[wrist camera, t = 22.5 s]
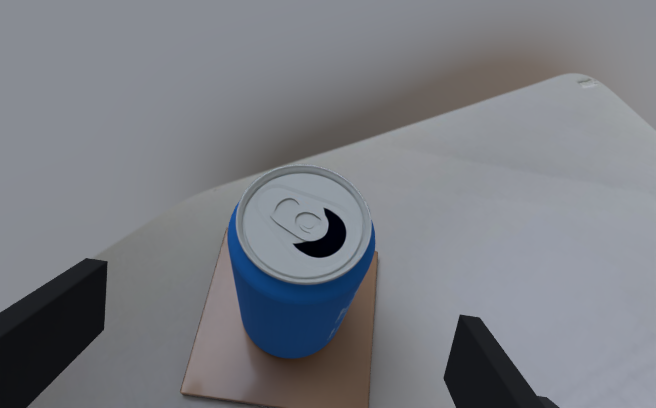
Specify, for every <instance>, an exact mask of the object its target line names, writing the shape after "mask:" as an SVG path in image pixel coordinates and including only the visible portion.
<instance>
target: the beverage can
mask: <svg viewBox="0 0 656 408" xmlns="http://www.w3.org/2000/svg"><path fill="white" fill-rule="evenodd" d="M227 242H228V249H229V255H230V260H231V265H232V271H233V276H234V281H235V287H236V292H237V297H238V303H239V308H240V313H241V318H242V322H243V326H244V328H245V330H246V332H247V334H248V335H249V337H250V338H251V340H252V341H253V342H254V343H255V344H256V345H257V346H258V347H259V348H261V349H262V350H264V351H265V352H267V353H269V354H271V355H274V356H277V357H281V358H290V359H294V358H302V357H306V356H309V355H311V354H314V353H316V352H317V351H319V350H321V349H322V348H323V347H325V346H326V345H327V344H328V343H329V342H330V341H331V340H332V338H333V337H334V336H335V334H336V332H337V331H338V329H339V327H340V325H341V323H342V321H343V319H344V317H345V315H346V313H347V311H348V309H349V307H350V305H351V303H352V301H353V299H354V297H355V295H356V293H357V291H358V289H359V287H360V285H361V283H362V281H363V279H364V277H365V275H366V273H367V271H368V269H369V267H370V264H371V262H372V259H373V255H374V251H375V232H374V226H373V223H372V220H371V215H370V211H369V208H368V205H367V203H366V201H365V199H364V198H363V196H362V195H361V193H360V192H359V191H358V190H357V188H356V187H355V186H354V185H353V184H352V183H350V182H349V181H348V180H347V179H345V178H344V177H343V176H341V175H339V174H337V173H336V172H333V171H331V170H329V169H326V168H323V167H319V166H314V165H305V164H297V165H288V166H283V167H279V168H276V169H274V170H271V171H269V172H267V173H265V174H263V175H262V176H260V177H259V178H257V179H256V180H255V181H254V182H253V183H252V184H251V185H250V186H249V187H248V188H247V190H246V191H245V193H244V194H243V196H242V198H241V200H240V201H239V203H238V204H237V206H236V207H235V209H234V212H233V214H232V216H231V219H230V222H229V227H228V235H227Z"/></svg>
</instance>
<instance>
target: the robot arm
mask: <svg viewBox="0 0 656 408" xmlns="http://www.w3.org/2000/svg"><path fill="white" fill-rule="evenodd" d="M107 262H108V261H102V260H95V259H88V258H86V259H84V260H83V261H81V262H79V263H78V264H76V265H75V266H73V267H72V268H70V269H68V270H67V271H65V272H64V273H62V274H60V275H59V276H57V277H56V278H54V279H53V280H51V281H49V282H48V283H46V284H45V285H43V286H41V287H40V288H38V289H37V290H36V291H34V292H32V293H31V294H29V295H27V296H26V297H24V298H23V299H21V300H19V301H18V302H16V303H15V304H13V305H11V306H10V307H9V308H7V309H5V310H4V311H2V312H0V408H27V407H28V406H29V405H30V404H31V403H32V402H33V401H34V399H35V398H36V397H37V396H38V395H39V394H40V393H41V392H42V391H43V390H44V389H45V388H46V387H47V386H48V385H49V384H50V383H51V382H52V381H53V380H54V379H55V378H56V377H57V376H58V375H59V374H60V373H61V372H62V371H63V370H64V369H65V368H66V367H67V366H68V365H69V364H70V363H71V362H72V361H73V360H74V359H75V358H76V357H77V356H78V355H79V354H80V353H81V352H82V351H83V350H84V349H85V348H86V347H87V346H88V345H89V344H90V343H91V342H92V341H93V340H94V339H95V338H96V337H97V336H98V335H99V334H100V333H101V332H102V331H103V330H104V320H105V301H106V282H107ZM443 379H444V381H445V383H446V385H447V388H448V390H449V392H450V395H451V397H452V399H453V402H454V404H455V406H456V408H559V407H558V406H557V405H556V404H554V403H553V402H552V401H551V400H549V399H548V398H547V397H541V396H537V395H536V394H535V393H534V391H533V390H532V388H531V387H530V386H529V384H528V383H527V382H526V380H525V379H524V378H523V376H522V375H521V373H520V372H519V371H518V369H517V368H516V367H515V365H514V364H513V362H512V361H511V360H510V358H509V357H508V356H507V354H506V353H505V352H504V350H503V349H502V347H501V346H500V345H499V343H498V342H497V341H496V339H495V338H494V336H493V335H492V334H491V332H490V331H489V330H488V328H487V327H486V326H485V324H484V323H483V321H482V320H481V319H480V318H479V317H473V316H466V315H460V316H459V320H458V324H457V328H456V332H455V336H454V340H453V343H452V347H451V351H450V355H449V359H448V363H447V367H446V371H445V374H444V378H443Z"/></svg>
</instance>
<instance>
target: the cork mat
mask: <svg viewBox="0 0 656 408" xmlns="http://www.w3.org/2000/svg"><path fill="white" fill-rule="evenodd" d="M227 235H228V228H227V229H226V232H225V236H224V239H223V243H222V246H221V250H220V253H219V257H218V260H217V264H216V267H215V271H214V274H213V278H212V281H211V285H210V288H209V292H208V295H207V299H206V302H205V306H204V309H203V313H202V316H201V320H200V323H199V327H198V331H197V334H196V338H195V341H194V345H193V348H192V352H191V355H190V359H189V362H188V366H187V369H186V373H185V376H184V380H183V383H182V387H181V390H180V393H181V394H183V395H190V396H197V397H203V398H210V399H217V400H224V401H231V402H238V403H244V404H251V405H258V406H265V407H272V408H368V404H369V388H370V371H371V355H372V339H373V322H374V306H375V290H376V274H377V257H378V252H376V251H374V255H373V259H372V262H371V264H370V267H369V269H368V271H367V273H366V275H365V277H364V279H363V281H362V283H361V285H360V287H359V289H358V291H357V293H356V295H355V297H354V299H353V301H352V303H351V305H350V307H349V309H348V311H347V313H346V315H345V317H344V319H343V321H342V323H341V325H340V327H339V329H338V331H337V332H336V334H335V336H334V337H333V338H332V340H331V341H330V342H329V343H328V344H327V345H326V346H325V347H323V348H322V349H321V350H319V351H317V352H316V353H314V354H311V355H309V356H306V357H302V358H294V359H290V358H281V357H277V356H274V355H271V354H269V353H267V352H265V351H264V350H262V349H261V348H259V347H258V346H257V345H256V344H255V343H254V342H253V341H252V340H251V338H250V337H249V335H248V334H247V332H246V330H245V328H244V326H243V322H242V318H241V313H240V308H239V303H238V297H237V292H236V287H235V281H234V276H233V271H232V265H231V260H230V255H229V249H228V242H227Z"/></svg>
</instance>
